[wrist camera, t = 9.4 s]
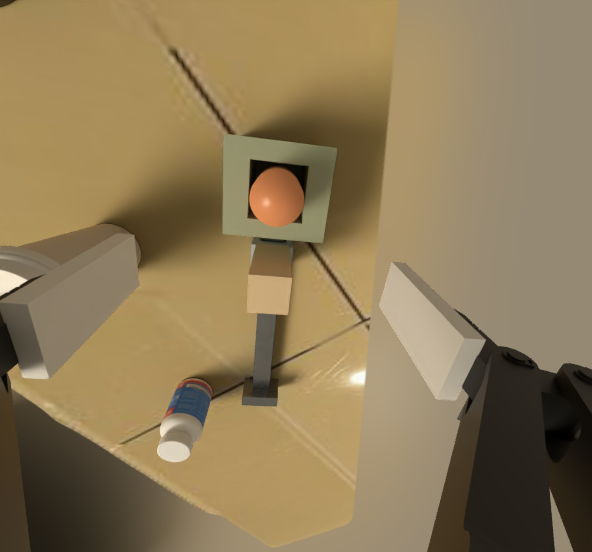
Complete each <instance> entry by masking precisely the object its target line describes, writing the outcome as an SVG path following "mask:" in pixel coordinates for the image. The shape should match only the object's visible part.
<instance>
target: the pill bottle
mask: <svg viewBox="0 0 592 552" xmlns="http://www.w3.org/2000/svg"><path fill="white" fill-rule="evenodd" d="M211 398H212V389H211V387H210V385H209V384H208V383H206V382H205V381H203V380H200V379H196V378H190V379H186V380H184V381H182V382H181V383H180V384H179V385H178V387H177V389H176V391H175V393H174V396H173V398H172V400H171V403H170V405H169V407H168V410H167V412H166V414H165V416H164V419H163V421H162V424H161V427H160V434H161V437H162V438H161V440H160V443H159V445H158V448H157V452H158V455H159V456H160V457H161V458H163V459H164V460H167V461H170V462H180V461H183V460H185V459H187V458H188V457H189V455H190V453H191V450H192V447H193V444H194V443H195V442H196V441H197V440H198V439H199V438H200V436H201V434H202V430H203V427H204V423H205V419H206V416H207V412H208V408H209V405H210V401H211Z"/></svg>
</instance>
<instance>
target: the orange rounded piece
mask: <svg viewBox="0 0 592 552" xmlns="http://www.w3.org/2000/svg"><path fill="white" fill-rule="evenodd" d="M249 201H250V206H251V209H252V211H253V213H254V215H255V216H256V217H257V218H258V219H259V220H260V221H261V222H262V223H264V224H266V225H269V226H273V227H282V226H286V225H288V224H290V223H292V222H293V221H295V220H296V219H297V218H298V216H299V215H300V213H301V211H302V209H303V206H304V193H303V190H302V187H301V185H300V184H299V182H298V180H297V178H296V176H295V175H294V173H293V172H292V171H291V170H290V169H288V168H286V167H284V166H280V165H273V166H270V167H268V168H266V169H265V170H263V171H262V172H261V174H260V175H259V177H258V178H257V179H256V181H255V182H254V184H253V186H252V188H251V191H250V196H249Z"/></svg>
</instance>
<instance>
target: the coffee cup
mask: <svg viewBox="0 0 592 552" xmlns="http://www.w3.org/2000/svg"><path fill="white" fill-rule="evenodd" d="M117 233H123V234H130V233H129V232H128V231H127V230H125V229H123V228H121V227H119V226H117V225H113V224H100V225H96V226H92V227H88V228H85V229H81V230H78V231H74V232H70V233H67V234H63V235H59V236H56V237H52V238H48V239H44V240H41V241H37V242H33V243H30V244H26V245H22V246H18V247H14V246H0V296H1V295H3V294H5V293H7V292H9V291H10V290H12V289H14V288H15V287H19V285H21V284H23V283H24V282H26V281H28V280H30V279H32V278H35V277H38V276H41V275H44V274H47V273H49V272H50V271H52V270H54V269H56V268H57V267H59V266H61V265H63V264H64V263H66V262H68V261H70V260H71V259H73V258H75V257H77V256H78V255H80V254H82V253H84V252H85V251H87V250H89V249H91V248H92V247H94V246H96V245H97V244H99V243H101V242H103V241H104V240H106V239H108V238H110V237H111V236H113V235H115V234H117ZM135 246H136V256H137V266H138V265H139V263H140V260H141V250H140V247H139V244H138V242H137V241H136V239H135Z"/></svg>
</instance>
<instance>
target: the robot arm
mask: <svg viewBox="0 0 592 552" xmlns="http://www.w3.org/2000/svg"><path fill="white" fill-rule="evenodd" d="M12 1H13V0H0V7H1V6H3V5H6V4H8V3H10V2H12ZM138 286H139V276H138V266H137V256H136V246H135V237H134V235H133V234H123V233H117V234H115V235H113V236H111V237H110V238H108V239H106V240H104V241H103V242H101V243H99V244H97V245H96V246H94V247H92V248H91V249H89V250H87V251H85V252H84V253H82V254H80V255H78V256H77V257H75V258H73V259H71V260H70V261H68V262H66V263H64V264H63V265H61V266H59V267H57V268H56V269H54V270H52V271H50V272H49V273H47V274H44V275H41V276H38V277H35V278H32V279H30V280H28V281H26V282H24V283H23V284H21V285H19V287H15V288H14V289H12V290H10V291H9V292H7V293H5V294H3V295H1V296H0V552H30V545H29V537H28V528H27V519H26V511H25V503H24V494H23V485H22V476H21V468H20V459H19V451H18V442H17V434H16V425H15V417H14V408H13V400H12V391H11V382H10V379H9V376H8V373H7V372H8V371H9V370H10V369H12V368H13V367H14V366H15V365H16V364H17V363H18V365H19V368H20V371H21V374H22V377H23V378H35V379H50V378H51V377H52V376H53V375H54V374H55V373H56V372H57V371H58V370H59V369H60V368H61V366H62V365H63V364H64V363H65V362H66V361H67V360H68V359H69V358H70V357H71V356H72V355H73V354H74V353H75V352H76V351H77V350H78V349H79V348H80V347H81V346H82V345H83V344H84V342H85V341H86V340H87V339H88V338H89V337H90V336H91V335H92V334H93V333H94V332H95V331H96V330H97V329H98V328H99V327H100V326H101V325H102V324H103V323H104V322H105V321H106V320H107V318H108V317H109V316H110V315H111V314H112V313H113V312H114V311H115V310H116V309H117V308H118V307H119V306H120V305H121V304H122V303H123V302H124V301H125V300H126V299H127V298H128V297H129V295H130V294H131V293H132V292H133V291H134V290H135V289H136V288H137V287H138ZM379 307H380V308H381V310H382V312H383V313H384V315H385V317H386V318H387V320H388V321H389V323H390V325H391V326H392V328H393V330H394V331H395V333H396V334H397V336H398V337H399V339H400V341H401V342H402V344H403V346H404V347H405V349H406V350H407V352H408V354H409V355H410V357H411V359H412V360H413V362H414V364H415V365H416V367H417V368H418V370H419V372H420V373H421V375H422V376H423V378H424V380H425V381H426V383H427V385H428V386H429V388H430V390H431V391H432V393H433V394H434V396H435V398H436V399H438V400H457V397H458V395H459V393H460V391H461V389H462V388H463V389H464V390H465V392H466V393H467V394H468V395H469V397H468V399H467V401H466V403H465V405H464V407H463V408H462V410H461V412H460V415H459V416H458V418H457V419H458V420H460V425H459V429H458V433H457V437H456V441H455V445H454V449H453V452H452V456H451V461H450V464H449V468H448V472H447V476H446V481H445V484H444V488H443V492H442V496H441V500H440V504H439V508H438V512H437V516H436V520H435V524H434V527H433V531H432V535H431V539H430V543H429V547H428V551H427V552H555V548H554V537H553V525H552V513H551V502H550V490H551V492H552V495H553V498H554V500H555V503H556V506H557V508H558V511H559V514H560V516H561V519H562V522H563V524H564V527H565V530H566V532H567V535H568V538H569V540H570V543H571V546H572V548H573V551H574V552H592V370H591V369H589V368H587V367H582V366H579V365H575V364H571V363H568V364H567V363H566V364H563V365H562V367H561V368H560V369H559V371H558V372H557V374H556V373H551V372H548V371H544V370H540V369H539V368H538V366H537V364H536V363H535V362H534V361H533V360H532V359H531V358H529V357H528V356H526V355H525V354H523V353H521V352H519V351H517V350H514V349H511V348H508V347H501V346H497V345H496V344H495V343H494V342H493V341H492V340H491V339H490V338H488V337H487V336H486V335H485V334H484V333H483V332H482V331H481V330H479V329H478V327H476V325H475V324H472V322H471V321H470V320H469V319H468V318H467V317H466V316H465V315H463V314H462V313H460V312H458V311H457V310H455V309H453V308H452V307H451V306H450V305H449V304H448V303H447V302H446V301H445V300H444V299H442V298H441V297H440V296H439V295H438V294H437V293H436V292H435V291H434V290H433V289H432V288H431V287H430V286H429V285H428V284H427V283H426V282H425V281H424V280H423V279H421V277H419V276H418V275H417V274H416V273H415V272H414V271H413V270H412V269H411V268H410V267H409V266H408V265H407V264H406V263H399V262H392V264H391V267H390V270H389V274H388V277H387V281H386V284H385V287H384V291H383V294H382V298H381V301H380V304H379ZM549 487H550V490H549Z"/></svg>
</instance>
